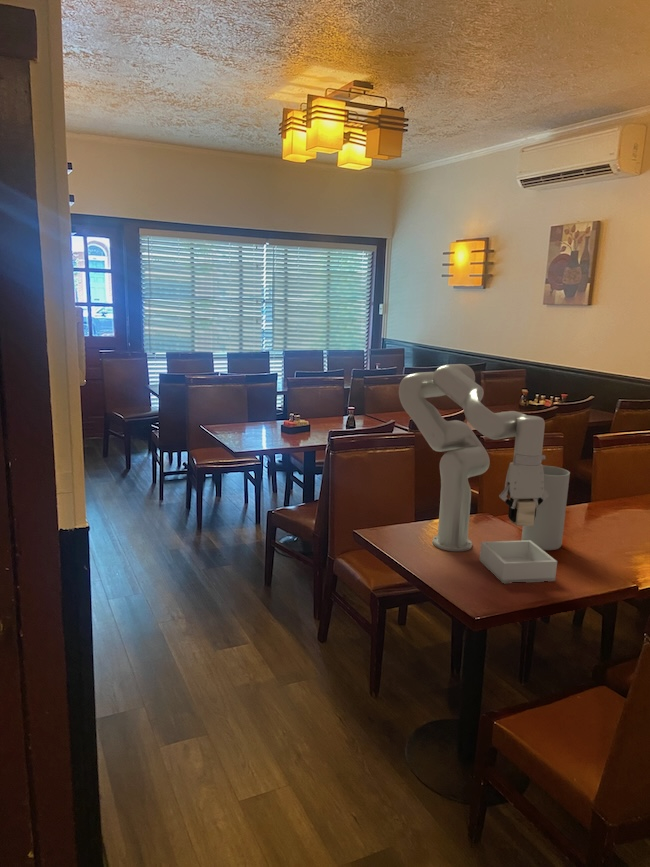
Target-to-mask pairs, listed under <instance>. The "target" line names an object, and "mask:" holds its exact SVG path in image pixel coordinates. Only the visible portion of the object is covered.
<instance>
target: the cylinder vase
mask: <svg viewBox="0 0 650 867" xmlns="http://www.w3.org/2000/svg"><path fill="white" fill-rule="evenodd" d="M543 472H544V489H545V491H546V492H547V494H548V495H549V496H548V497H547V498H546V499H545V500H543V502H542V503H541V504H540V505H539V507H538V508H536V517H535V520H534V526H522V533H521V541H522V540H531V541H532V542H533V543H535V544H536V545H537V546H538V547H540V548H541V549H542V550H543V551H555V550H559V549H560V548H561V547H562V544H563V537H564V536H563V535H564V528H565V519H566V509H567V501H568V495H569V494H568V492H569V483H570V476H571V475H570V474H571V471H569V470H567V469H565V468H561V467H558V466H553V465H552V466H551V465H543Z"/></svg>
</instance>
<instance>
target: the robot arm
mask: <svg viewBox="0 0 650 867" xmlns="http://www.w3.org/2000/svg"><path fill="white" fill-rule="evenodd" d="M475 375H476V374H475V372H474V370H473V368H471V366H469V365H467V364H464V363H456V364H455V363H453V364H444V365H441V366H439V367H438V368H437V369H435V370H434V371H425V372H424V371H423V372H422V371H421V372H415V373H414V372H413V373H410V374H407V375H406V376H404V377H403V378H402V379H401V381H400V382H399V386H398V397H399V398H398V399H399V401H400V404H401V406H402V408H403V409H404V411H405V412H406V414H407V415H408V416H409V417H410V418H411V420H412V421H413V423H414V424H415V425H416V427H417V429H418V431H419V432H420V433H421V435H422V436H423V438H424V439H425V441H426V442H427V444H428V445H429V447H430V448H431V450H432V451H435V452H441V453H442V452H444V454H443V455H442V456H441V458H440V461H439V474H440V498H439V501H440V503H439V513H438V514H439V515H438V528H437V529H438V530H437V535H434V537H432V544H433V545H434V546H435V547H436V548H438V549H439V550H440V549H441V550H443V551H449V552H465V551H468V550H470V549H472V546H473V542H472V540H470V539H469V537H468V536H469V526H470V515H471V514H470V513H471V502H472V501H471V500H472V490H471V485H470V483H469V478H472V477H476V476H480V475H483V474H484V473H486V472H487V471H488V469H489V468H490V465H491V464H490V462H491V461H490V455H489V454H488V451H487V450H486V448H485V447H484V446H483V444H482V442H481V441H480V440H479V438H478V437H477V436H476V434H475V433H474V431H473V430H472V429H471V427H472V428H474V429H475V430H476V431H477V432H478V433H480V434H481V435H483V436H484V437H485V438H487V439H490V440H497V441H498V440H502V439H507V438H514V437H515V439H514V448H513V449H514V451H513V459H512V460H513V461H512V462H509V466H508V468H507V473H506V475H505V476H506V477H505V483H504V489H503V490H502V491H501V492H500V493H499V495H498V497H499V498H500V499H501V500H502V501H503V502H504V503H506V505H507V506H508V515H507V517H508V519H509V521H510V520H511V521H512V522H516V514H517V509H516V505H517V501H518V499H531V500H533V501H535V502H536V506H535V516H534V520H535V517H536V508H538V507H539V505H540V504H541V503H542V502H543V500H545V499H546V498H547V497H548V496H549V495H548V494H547V492H546V491H545V489H544V472H543V466H544V465H543V464H542V462H543V461H545V460H546V455H545V454H543V449H544V447H543V446H544V436H545V427H546V426H545V425H546V422H545V420H544V418H543V417H541V416H538V415H529V414H528V415H527V414H525V413H522V412H519V411H516V410H508V411H501V412H493V411H491V410H490V409H489V408H488V407H487V406H485V405H484V404H483V403H482V402H481V401H482V400H483V398H484V388H483V386H481V385H480V384H478V383H477V382H476V376H475ZM443 396H447V397H448V398H449V399H451V400H452V401H453V402H454V403H456V404H457V405H459V407H461V408H462V409H463V413H464V417H465V418H466V421H467V422H468V424H469V425H470V426H471V427H470V426H469V425H468V424H467V423H466V422H464V421H461V420H457V419H454V420H446V418H444V417H443V416H442V414H440V412H439V410H438V409H437V408H436V406H434V404H432V403H431V402H429V401H428V400H427V398H437V397H443ZM507 496H509V498H508V497H507ZM511 521H510V522H511ZM512 522H511V523H512Z"/></svg>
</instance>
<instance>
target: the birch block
mask: <svg viewBox="0 0 650 867" xmlns="http://www.w3.org/2000/svg"><path fill="white" fill-rule="evenodd" d="M535 506H536V502H535V501H533V500H531V499H518V501H517V505H516V509H517V514H516V522H512V521H511V520H510V519H509V521H510V522H511V523H512V524H514V525H515V526H516V527H523V526H534V516H535Z"/></svg>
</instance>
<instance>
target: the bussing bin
mask: <svg viewBox="0 0 650 867" xmlns="http://www.w3.org/2000/svg"><path fill="white" fill-rule="evenodd" d="M479 552H480V553H479V562H481V564H482V565H483V566H485V568H486V569H487V570H488V571H489V570H490V571H491V572H492V573H493V574H494V575H495V576H496V577H497V578H498V579H499V580H500V581H501V582H502V583H504V584H511V583H510V582H526V583H541V582H543V583H545V582H544V581H548V582H556V576H557V575H556V574H557V568H558V567H557V566H558V560H557V559H555V558H554V557H553V556H551V555H550V554H548V552H546V550H542V549H541V548H540V547H538V546H537V545H536V544H535V543H533V542H532V541H531V540H522V539H521V540H500V541H499V540H498V541H497V540H495V541H481V542H480V550H479ZM491 572H490V573H491ZM492 573H491V574H492ZM493 574H492V575H493ZM494 575H493V576H494ZM495 576H494V577H495ZM496 577H495V578H496ZM497 578H496V579H497ZM498 579H497V580H498ZM499 580H498V581H499ZM500 581H499V582H500ZM501 582H500V583H501ZM502 583H501V584H502Z"/></svg>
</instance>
